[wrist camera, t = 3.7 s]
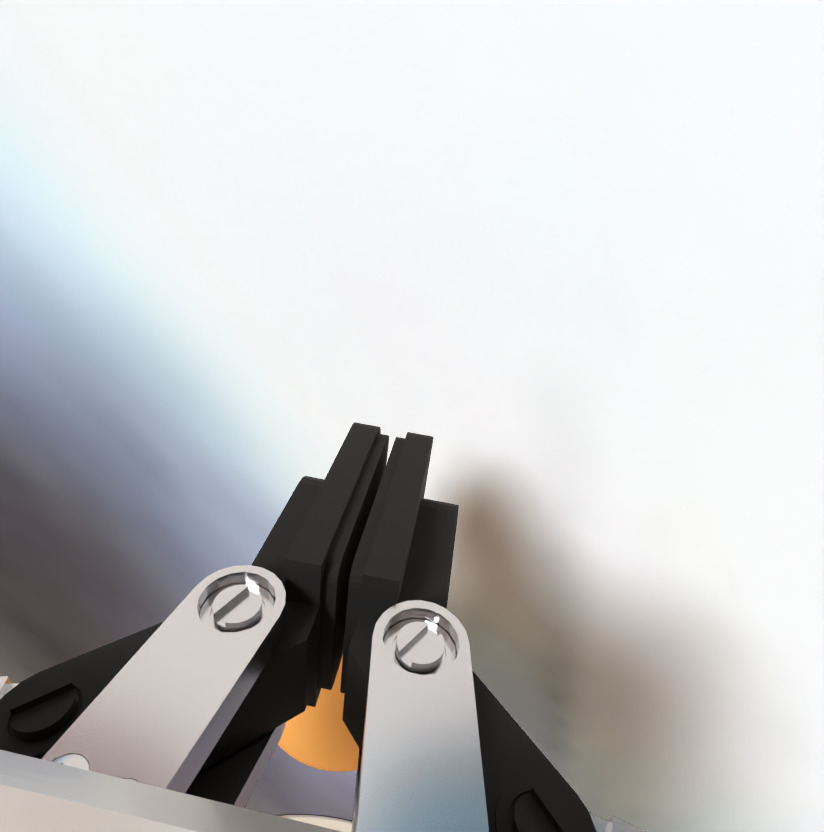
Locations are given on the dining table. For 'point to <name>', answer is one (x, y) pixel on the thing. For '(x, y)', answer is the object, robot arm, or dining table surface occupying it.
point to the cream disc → (323, 822)
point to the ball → (322, 733)
